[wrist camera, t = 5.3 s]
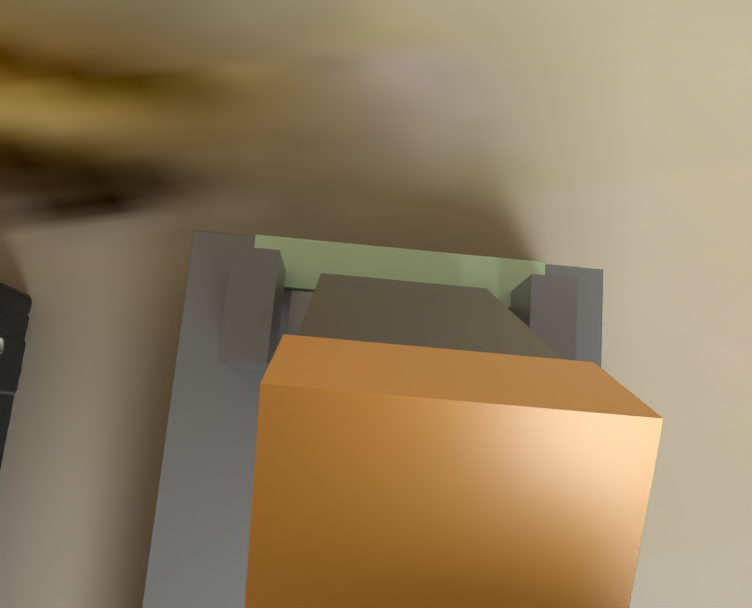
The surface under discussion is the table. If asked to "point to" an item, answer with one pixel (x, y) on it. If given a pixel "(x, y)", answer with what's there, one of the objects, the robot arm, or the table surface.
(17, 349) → the disk drive
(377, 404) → the breaker lever
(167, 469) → the box
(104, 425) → the table surface
